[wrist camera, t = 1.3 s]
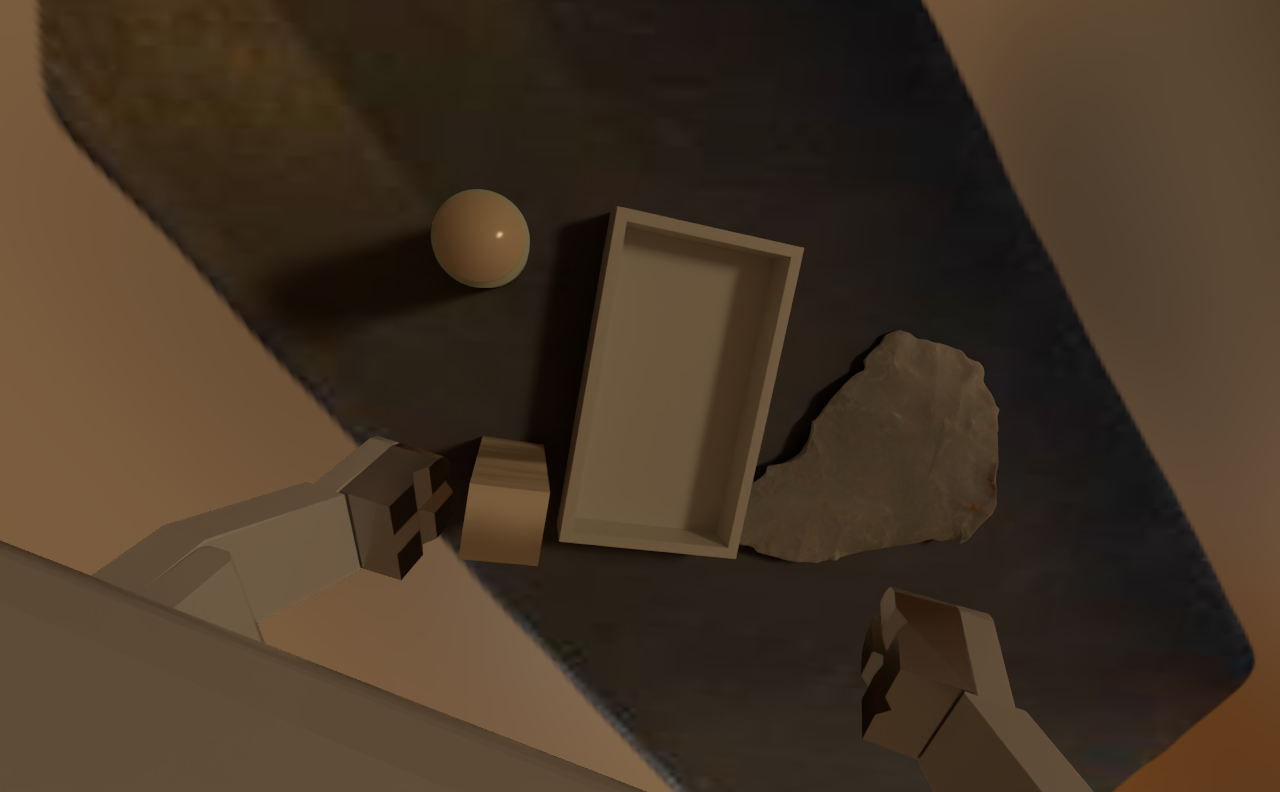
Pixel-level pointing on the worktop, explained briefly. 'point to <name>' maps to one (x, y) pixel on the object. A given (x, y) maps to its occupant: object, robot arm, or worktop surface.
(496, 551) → the birch block
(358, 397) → the worktop surface
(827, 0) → the worktop surface
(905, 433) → the stone tool
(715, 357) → the beige tray
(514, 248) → the sage jar
